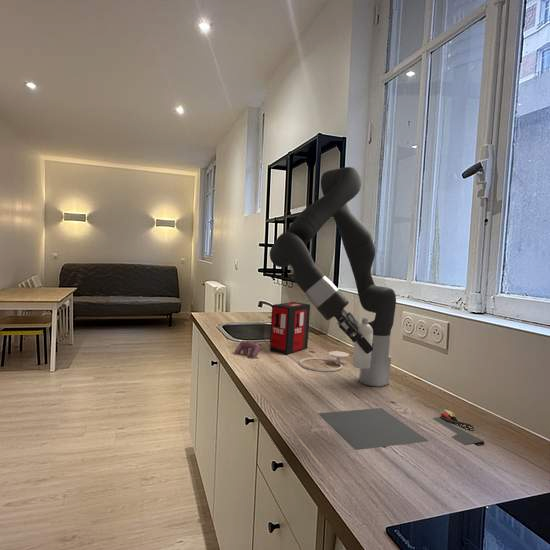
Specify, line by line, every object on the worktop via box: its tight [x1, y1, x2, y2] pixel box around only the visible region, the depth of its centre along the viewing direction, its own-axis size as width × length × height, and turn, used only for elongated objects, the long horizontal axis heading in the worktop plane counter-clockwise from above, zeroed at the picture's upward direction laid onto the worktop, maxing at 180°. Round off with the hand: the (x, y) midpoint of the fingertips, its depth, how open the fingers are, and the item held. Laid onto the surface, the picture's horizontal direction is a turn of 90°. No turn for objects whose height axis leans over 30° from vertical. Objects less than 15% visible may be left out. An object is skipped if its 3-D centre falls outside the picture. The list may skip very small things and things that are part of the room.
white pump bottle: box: [352, 317, 373, 369], centre depth 104 cm, size 4×4×12 cm
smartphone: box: [431, 417, 485, 446], centre depth 104 cm, size 7×1×15 cm
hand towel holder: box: [298, 350, 350, 373], centre depth 158 cm, size 17×4×21 cm
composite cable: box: [438, 408, 475, 430], centre depth 110 cm, size 10×5×2 cm, turn 23°
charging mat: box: [317, 407, 430, 451], centre depth 103 cm, size 20×20×1 cm
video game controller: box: [234, 340, 262, 359], centre depth 165 cm, size 10×5×7 cm, turn 59°
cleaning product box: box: [269, 301, 311, 356], centre depth 177 cm, size 16×9×20 cm, turn 144°
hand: (370, 349), depth 103 cm, fingers closed on white pump bottle, 4 cm apart
